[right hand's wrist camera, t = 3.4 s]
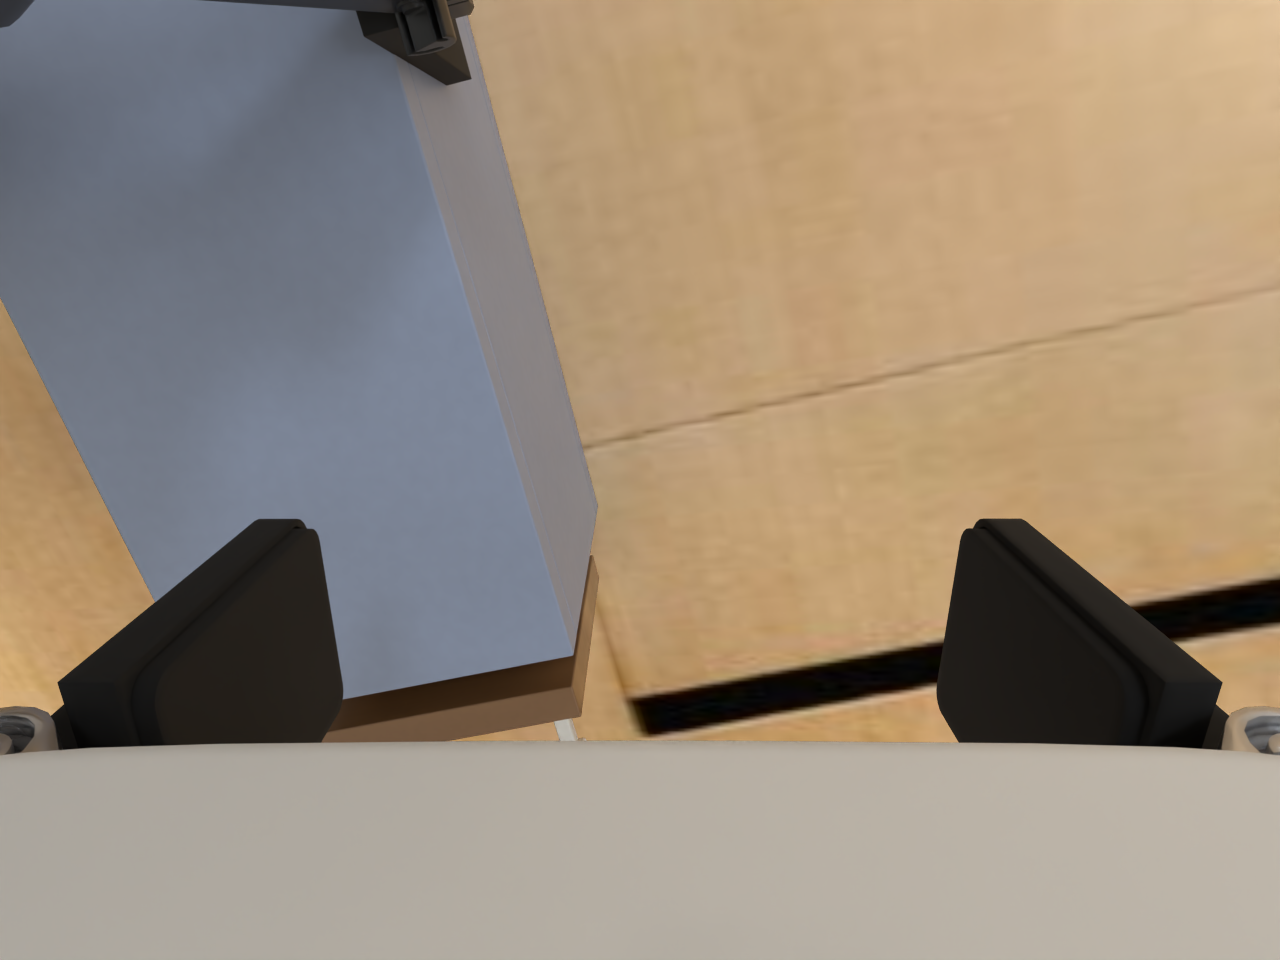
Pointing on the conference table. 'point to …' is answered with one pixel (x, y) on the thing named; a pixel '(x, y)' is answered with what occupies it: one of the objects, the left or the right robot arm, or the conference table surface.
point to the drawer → (478, 698)
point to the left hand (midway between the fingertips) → (240, 83)
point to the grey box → (296, 318)
